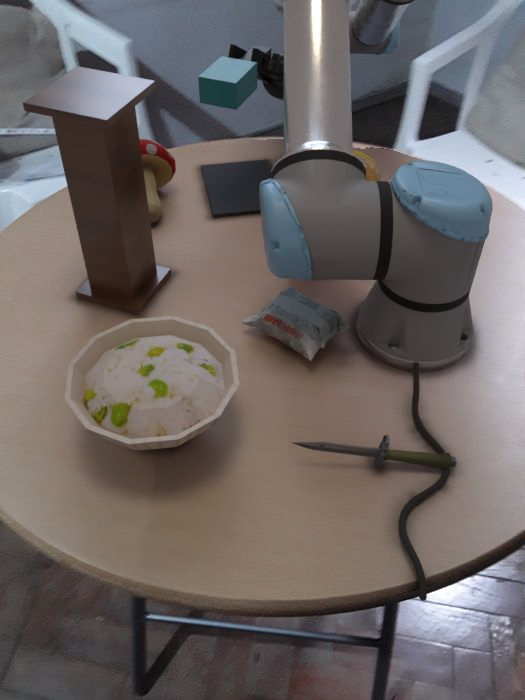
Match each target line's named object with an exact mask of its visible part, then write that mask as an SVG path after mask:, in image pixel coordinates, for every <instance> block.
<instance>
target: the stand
mask: <svg viewBox="0 0 525 700" xmlns="http://www.w3.org/2000/svg"><path fill="white" fill-rule="evenodd" d="M156 82H157V81H156V80H152V79H147V78H143V77H138V76H137V77H136V76H131V75H126V74H122V73H115V72H111V71H105V70H100V69H94V68H89V67H83V66H80V65H79V66H78V65H76V66H75V67H73V68H72V69H70V70H69V71H67V72H66V73H64V74H63V75H62V76H60V77H58V78H57V79H56V80H54V81H53V82H51V83H50V84H48V85H47V86H45V87H43V88H42V89H41V90H39V91H38V92H36V93H35V94H33V95H32V96H31V97H29V98H27V99H26V100H24V101H23V102H22V106H23V110H24V112H28V113H32V114H37V115H42V116H46V117H51V119H52V123H53V128H54V132H55V137H56V142H57V146H58V150H59V155H60V159H61V164H62V169H63V172H64V177H65V181H66V186H67V190H68V195H69V199H70V203H71V209H72V212H73V217H74V222H75V225H76V226H75V227H76V230H77V235H78V239H79V245H80V247H81V248H80V249H81V253H82V257H83V261H84V266H85V270H86V275H87V279H86V281H84V283H83V284H82V285H81V286H79V288H78V289H77V290H76V291H75V295H76V298H77V299H80V300H81V299H82V300H85V301H88V302H92V303H94V304H98V305H102V306H106V307H109V308H112V309H114V310H119V311H122V312H125V313H129V314H133V315H136V316H139V315H140V313H141V312H142V311H143V309H144V308H145V307H147V305H148V304H149V302H150V301H151V300H152V299H153V297H154V296H156V293H158V292H159V290H160V289H161V287H162V286H163V285H164V284H165V283H166V281H167V280H168V279H169V278H170V276H172V269H171V268H170V267H166V266H162V265H158V264H157V262H156V254H155V248H154V247H155V246H154V240H153V238H154V237H153V231H152V225H151V224H152V223H150V216H149V208H148V200H147V193H146V185H145V178H144V170H143V163H142V155H141V147H140V140H139V139H140V133H139V126H138V117H137V111H136V106H137V105H139V104H140V103H141V102H143V101H144V100H145V99H146V98H147V97H148V96H150V95H151V94H152V93H153V92H155V90H157V84H156Z"/></svg>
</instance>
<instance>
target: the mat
mask: <svg viewBox="0 0 525 700" xmlns="http://www.w3.org/2000/svg"><path fill="white" fill-rule="evenodd" d="M200 169H201V173H202V177H203V181H204V186H205V190H206V193H207V198H208V201H209V202H208V203H209V206H210V209H211V210H210V211H211V214H212V217H213V218H222V217H232V216H240V215H241V216H242V215H252V214H261V210H260V198H259V186H260V183H261V182H262V181H264V180H267V179H269V178H271V171H272V169H271V168H270V165H269V162H268V160H267V159H266V158H265V159H256V160H255V159H254V160H244V161H235V162H234V161H233V162H223V163H212V164H202V165H200Z"/></svg>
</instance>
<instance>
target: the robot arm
mask: <svg viewBox="0 0 525 700" xmlns="http://www.w3.org/2000/svg"><path fill="white" fill-rule="evenodd" d="M416 1H417V0H360V1H359V3H358V0H273V4H274V6H275V8H276V10H277V11H278V12H279V13H280V15H282V16H283V53H275V52H273V53H272V54H271V56H269V55H268V54H266V53H264V52H262V51H261V50H259V49H256V48H253V51H252V57H251V61H252V62H257V71H259V72H261V74H260V75H259V76H258V77H257V81H261V83H262V85H263V88H264V89H265V91H266V92H267V94H269V95H270V96H271V97H273V98H276V99H278V100H279V101H283V156H282V157H280V158H279V159H278V160H277V161H275V163H274V164H273V166H272V168H271V178H269V179H267V180H264V181H262V182H261V183H260V186H259V198H260V210H261V213H260V218H261V229H262V230H261V231H262V238H263V246H264V253H265V259H266V264H267V267H268V270H269V271H270V272H271V273H272V274H273V275H274V276H275V277H277V278H279V279H287V280H288V279H291V280H302V281H304V282H310V281H374V283H373V284H372V287H371V288H370V290H369V292H368V294H367V295H366V297H365V298H364V300H363V301H362V302H361V304H360V306H359V308H358V312H357V319H356V334H357V336H358V339H359V341H360V342H361V345H362V346H363V347H364V348H365V350H367V351H368V353H370V354H371V355H372V356H373V357H375V358H376V359H378V360H379V361H381V362H383V363H385V364H387V365H389V366H391V367H395V368H397V369H401V370H405V371H411V372H412V400H411V413H412V414H411V415H412V419H413V422H414V424H415V427H416V428H417V430H418V432H419V433H420V434H421V436H422V437H423V438H424V440H426V441H427V442H428V444H430V446H431V447H432V448H433V449H434V450H435V451H436V452H435V453H438V454H441V453H446V451H445V450H444V448H443V446H441V444H440V443H439V442H438V441H437V440H436V439H435V437H433V436H432V434H430V433H429V431H428V429H426V427H425V426H424V424H423V422H422V420H421V417H420V413H419V402H420V372H433V371H440V370H442V369H446V368H449V367H451V366H454V364H456V363H458V362H459V361H460V360H462V359H463V358H464V357H465V355H466V354H467V352H468V350H469V348H470V345H471V343H472V338H473V334H474V325H473V316H472V308H471V301H470V293H471V289H472V286H473V283H474V279H475V276H476V273H477V269H478V266H479V263H480V260H481V257H482V252H483V249H484V246H485V243H486V241H487V240H486V239H488V236H489V235H490V224H491V219H492V213H493V206H494V205H493V199H492V197H491V194H490V192H489V190H488V189H487V187H486V186H485V185H484V184H483V182H481V181H480V180H479V179H478V178H477V177H475V176H474V175H472V174H470V173H468V172H467V171H466V170H464V169H462V168H459V167H457V166H454V165H451V164H449V163H444V162H440V161H435V160H413V161H409V162H408V163H407V164H406V163H405V164H402V165H400V166H399V167H398V168H397V169H396V171H395V173H394V174H393V175H392V177H391V180H388V181H387V180H380V181H367V180H366V168H365V164H364V163H363V161H362V160H361V159H360V158H359V157H358V156H356V155H355V154H353V150H354V143H353V141H354V140H353V115H352V109H353V108H352V85H351V84H352V83H351V80H352V78H351V54H352V55H353V54H355V55H356V54H358V55H376V56H379V55H387V54H393V53H395V52H396V51H397V49H398V47H399V46H398V45H399V42H400V36H401V18H402V17H403V15H404V13H405V11H406V10H407V9H408V7H409V6H410V4H412V3H415V2H416ZM357 3H358V5H357ZM356 5H357V8H356V10H353V9H354V7H355V6H356ZM229 44H230V46H229V50H228V56H227V57H229V58H235V59H240V58H241V57H242V56H243V55H244V54H245V53H247V52H248V50H245V49H244V48H241V47H240V46H237V45H236V44H232V43H229ZM441 471H442V472H441V475H440V476H439V477H438V479H437V481H435V482H434V483H433V484H432V485H430V486H429V487H427V488H426V489H424V490H422V491H421V492H419V493H417V494H416V495H414V496H412V498H411V499H409V500H408V501H407V502H406V503H405V504H404V506H403V508H402V509H401V511H400V513H399V518H398V532H399V536H400V540H401V542H402V545H403V547H404V548H405V549H404V550H405V551H406V553H407V556H408V557H409V559H410V561H411V564H412V566H413V568H414V571H415V574H416V579H417V586H418V598H419V600H420V601H422V602H425V601H426V600H427V598H428V591H427V590H428V589H427V579H426V574H425V571H424V569H423V565H422V563H421V560H420V558H419V556H418V553H417V552H416V550H415V548H414V546H413V544H412V542H411V540H410V538H409V535H408V532H407V520H408V517H409V514H410V512H411V511H412V509H413V508H414V507H415V506H416V505H417V504H419V503H420V502H421V501H424V500H425V499H426V498H428V497H430V496H431V495H433V494H434V493H436V492H438V491H439V490H440V489H441V488H442V487H443V486H444V485H445V484H446V482H447V481H448V479H449V477H450V471H451V469H450V470H447V469H443V470H441ZM396 696H397V692H396V693H395V694H394V695H393V696H392V698H391V699H390V700H395V699H396Z"/></svg>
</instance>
